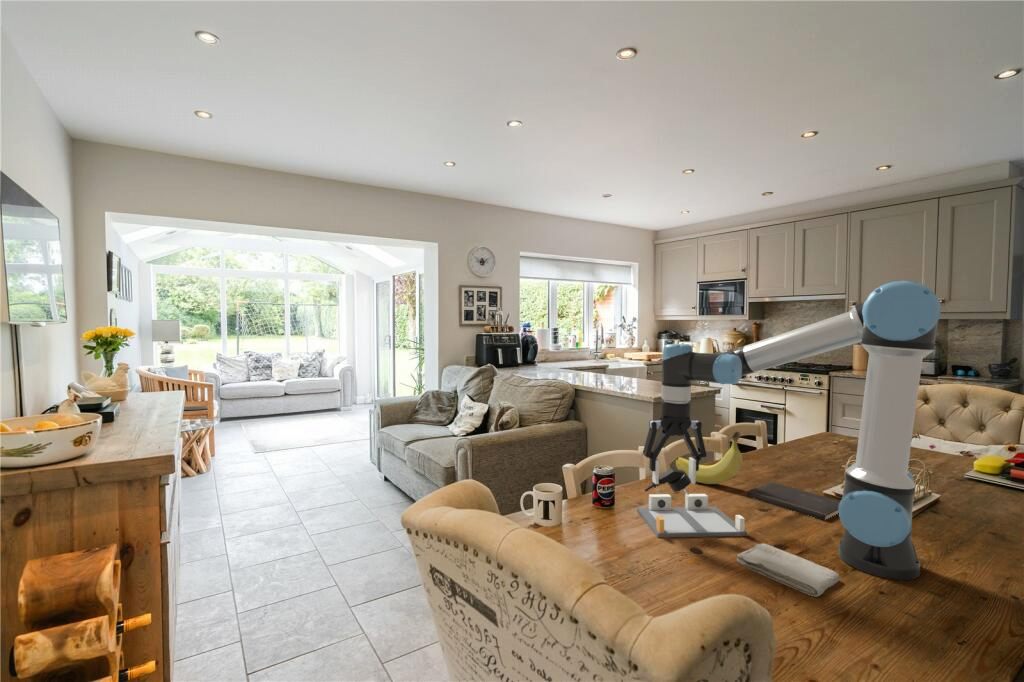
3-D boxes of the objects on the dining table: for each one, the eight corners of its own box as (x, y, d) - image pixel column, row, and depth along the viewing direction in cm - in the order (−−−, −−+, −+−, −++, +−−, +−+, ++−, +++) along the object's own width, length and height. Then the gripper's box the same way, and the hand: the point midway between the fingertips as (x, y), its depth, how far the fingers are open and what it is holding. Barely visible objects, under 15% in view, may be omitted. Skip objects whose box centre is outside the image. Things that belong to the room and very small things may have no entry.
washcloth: (758, 550, 118) (759, 538, 118) (841, 583, 103) (842, 569, 103) (733, 564, 111) (733, 551, 111) (818, 601, 96) (819, 587, 96)
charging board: (747, 535, 125) (747, 517, 125) (657, 537, 124) (657, 518, 123) (716, 510, 142) (716, 493, 142) (637, 511, 141) (637, 494, 140)
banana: (671, 478, 171) (673, 423, 170) (678, 474, 175) (679, 420, 174) (738, 493, 155) (739, 433, 155) (743, 489, 160) (745, 430, 159)
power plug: (641, 484, 134) (677, 461, 133) (656, 506, 134) (693, 484, 133) (645, 492, 128) (682, 468, 127) (661, 515, 128) (699, 491, 127)
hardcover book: (771, 488, 162) (772, 481, 162) (848, 510, 143) (849, 503, 143) (746, 498, 154) (746, 491, 153) (824, 523, 135) (825, 515, 134)
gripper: (709, 398, 133) (706, 477, 134) (631, 398, 132) (629, 478, 133) (722, 403, 125) (719, 486, 126) (640, 403, 124) (638, 487, 125)
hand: (673, 482), depth 130 cm, fingers closed on power plug, 9 cm apart
